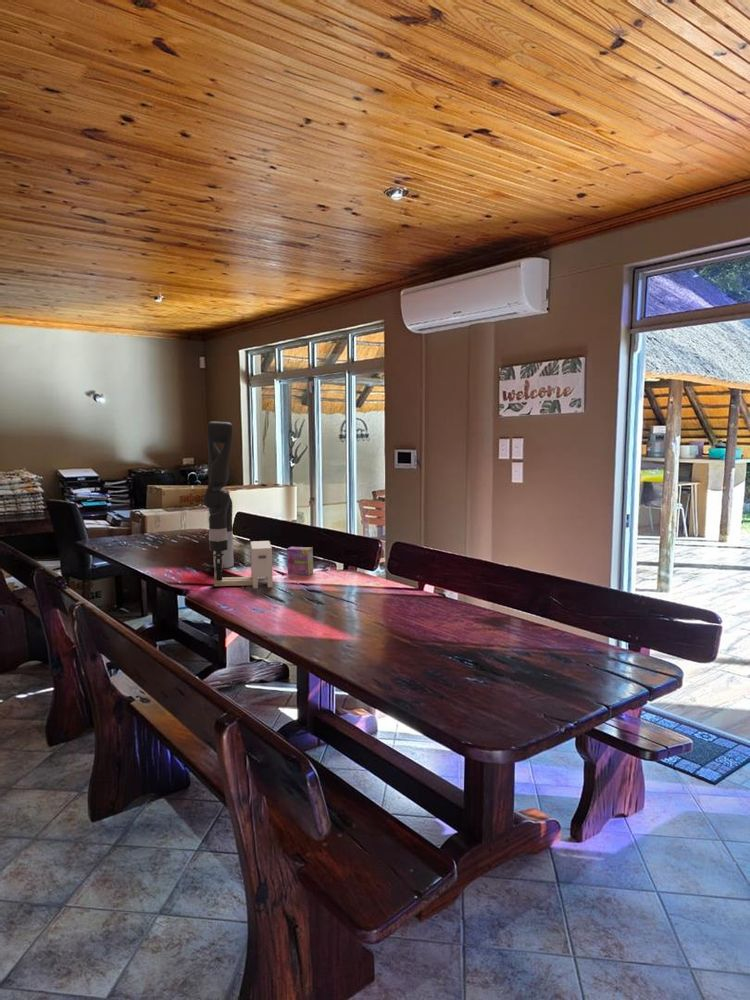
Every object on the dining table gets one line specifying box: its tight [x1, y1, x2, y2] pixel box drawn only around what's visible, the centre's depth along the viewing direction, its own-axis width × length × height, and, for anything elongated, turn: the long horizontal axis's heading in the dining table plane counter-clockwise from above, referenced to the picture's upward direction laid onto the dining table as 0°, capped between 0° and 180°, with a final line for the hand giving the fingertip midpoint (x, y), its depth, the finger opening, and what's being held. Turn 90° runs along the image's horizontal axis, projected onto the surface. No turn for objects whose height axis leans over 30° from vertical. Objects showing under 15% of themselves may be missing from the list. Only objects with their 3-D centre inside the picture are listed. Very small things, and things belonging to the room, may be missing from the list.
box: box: [286, 546, 314, 576], centre depth 289 cm, size 10×6×12 cm, turn 73°
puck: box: [258, 577, 268, 585], centre depth 272 cm, size 5×5×2 cm
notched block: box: [250, 540, 274, 589], centre depth 271 cm, size 19×8×16 cm, turn 13°
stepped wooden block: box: [213, 564, 253, 587], centre depth 269 cm, size 7×17×8 cm, turn 102°
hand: (219, 579), depth 268 cm, fingers closed on stepped wooden block, 3 cm apart
